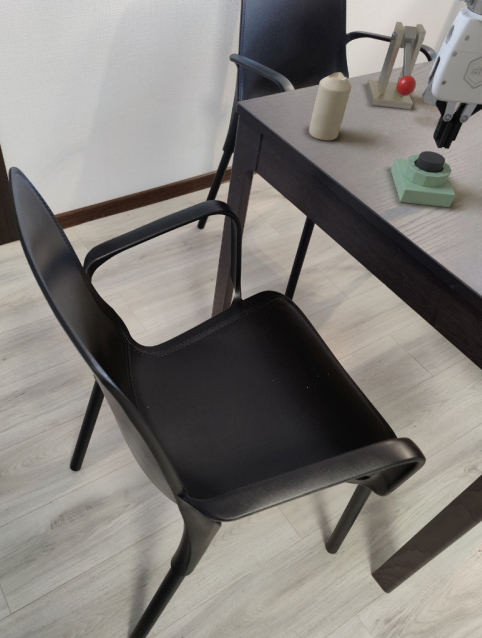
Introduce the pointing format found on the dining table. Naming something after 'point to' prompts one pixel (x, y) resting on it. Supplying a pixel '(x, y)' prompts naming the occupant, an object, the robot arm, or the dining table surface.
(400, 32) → the bracket
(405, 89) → the lever
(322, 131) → the candle
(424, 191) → the button box
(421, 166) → the button
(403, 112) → the dining table surface
